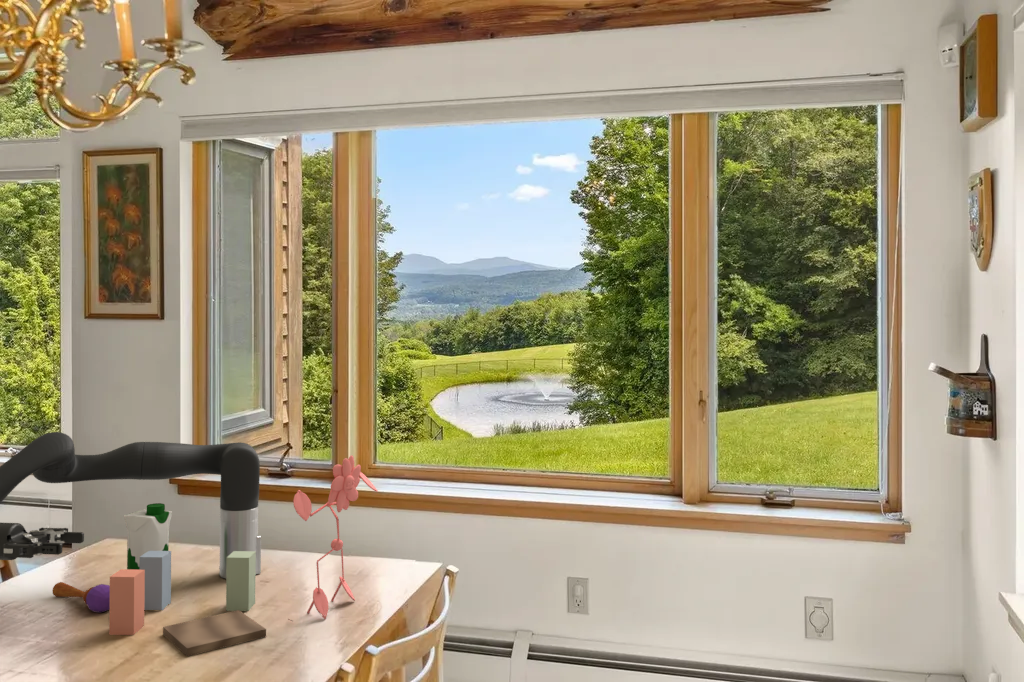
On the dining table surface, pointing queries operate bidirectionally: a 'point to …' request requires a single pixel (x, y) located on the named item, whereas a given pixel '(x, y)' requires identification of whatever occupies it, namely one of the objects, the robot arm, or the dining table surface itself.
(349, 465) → the figurine
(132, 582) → the red block
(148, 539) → the milk carton
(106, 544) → the dining table surface
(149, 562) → the blue grey block
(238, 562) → the olive block
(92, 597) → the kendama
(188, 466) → the robot arm
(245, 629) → the walnut board
